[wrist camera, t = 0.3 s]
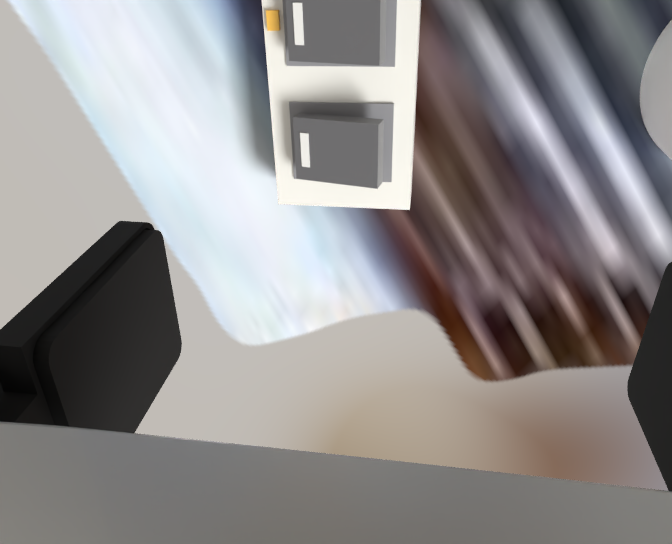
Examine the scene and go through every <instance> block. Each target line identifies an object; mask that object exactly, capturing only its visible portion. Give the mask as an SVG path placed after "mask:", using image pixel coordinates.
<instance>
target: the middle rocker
mask: <svg viewBox="0 0 672 544" xmlns="http://www.w3.org/2000/svg"><path fill="white" fill-rule="evenodd" d="M285 2H286V18H287V34H288V50H289V61H298V62H317V63H336V64H355V65H374V66H380V65H381V64H383V63H384V62H385V39H386V0H285Z"/></svg>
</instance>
